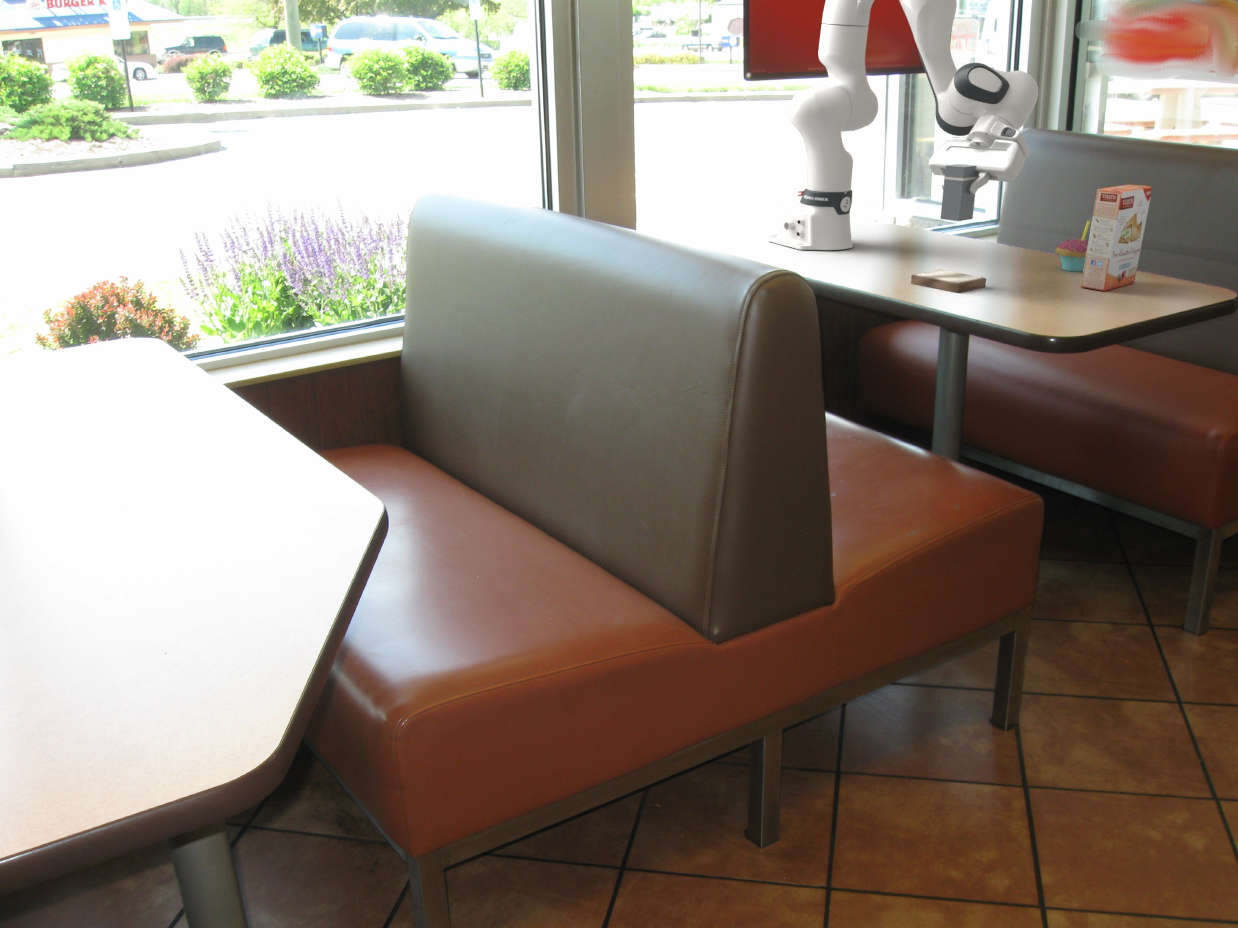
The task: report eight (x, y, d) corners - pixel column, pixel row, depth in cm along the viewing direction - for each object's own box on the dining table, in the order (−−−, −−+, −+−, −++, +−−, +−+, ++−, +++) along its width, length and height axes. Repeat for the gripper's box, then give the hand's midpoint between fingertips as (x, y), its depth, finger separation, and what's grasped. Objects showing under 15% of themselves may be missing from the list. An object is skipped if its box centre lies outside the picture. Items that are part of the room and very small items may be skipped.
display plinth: (910, 283, 239) (911, 274, 238) (938, 277, 245) (939, 268, 244) (957, 293, 230) (958, 283, 230) (985, 286, 236) (986, 277, 236)
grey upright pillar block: (940, 219, 233) (945, 165, 229) (954, 216, 236) (959, 164, 232) (958, 221, 230) (964, 167, 226) (972, 219, 233) (978, 165, 229)
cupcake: (1086, 266, 257) (1094, 214, 253) (1097, 274, 249) (1106, 220, 245) (1049, 265, 258) (1056, 214, 254) (1058, 273, 250) (1066, 220, 246)
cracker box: (1106, 292, 231) (1123, 191, 224) (1079, 288, 235) (1094, 188, 228) (1137, 283, 240) (1154, 185, 232) (1110, 279, 244) (1126, 183, 236)
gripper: (942, 127, 238) (911, 176, 236) (1027, 132, 223) (994, 185, 221) (953, 147, 242) (921, 196, 240) (1037, 153, 227) (1004, 205, 225)
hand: (957, 191), depth 230 cm, fingers closed on grey upright pillar block, 4 cm apart
